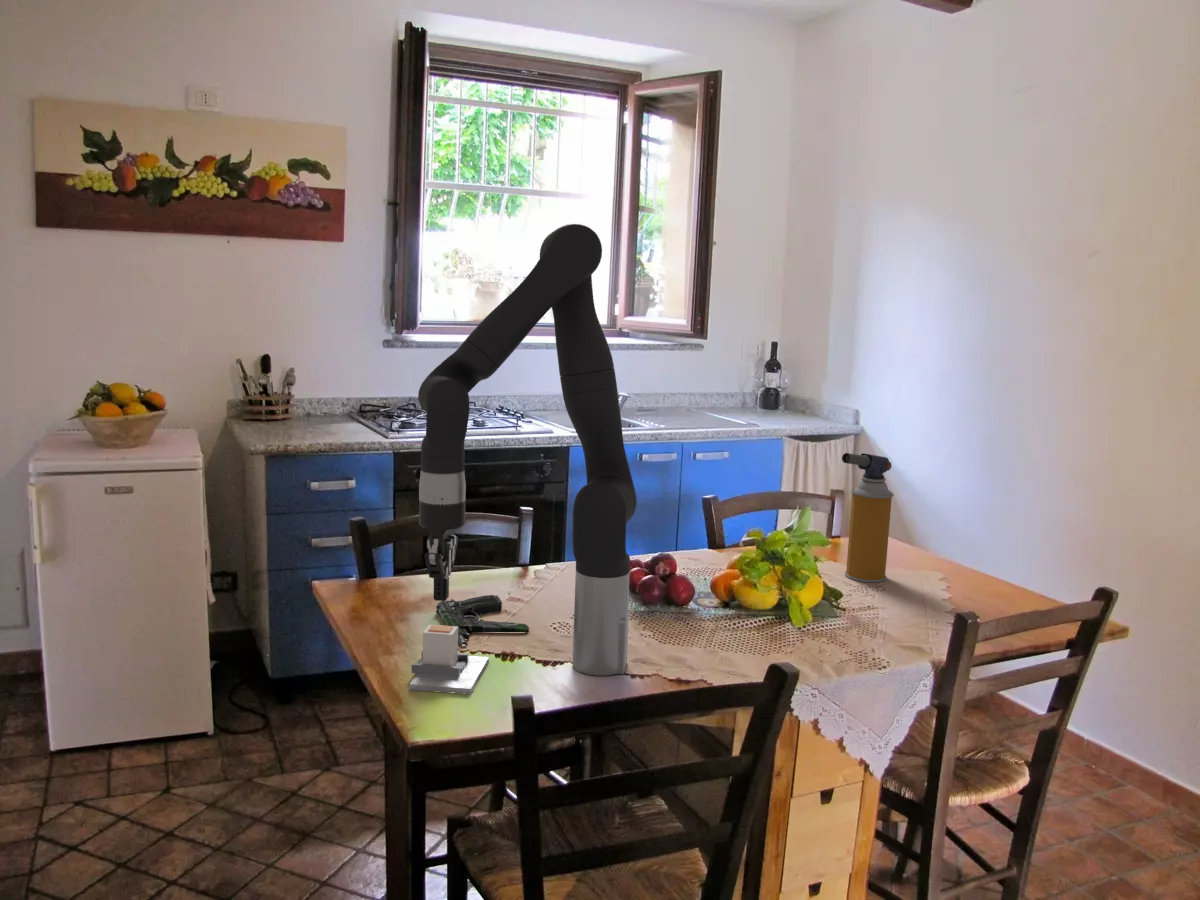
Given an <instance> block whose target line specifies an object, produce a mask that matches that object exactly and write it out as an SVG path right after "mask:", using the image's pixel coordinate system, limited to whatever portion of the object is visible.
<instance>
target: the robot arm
mask: <svg viewBox="0 0 1200 900" xmlns="http://www.w3.org/2000/svg"><path fill="white" fill-rule="evenodd" d="M601 242H602V241H601V239H600V237H599V236H598V234H597V232H595V231H594V230H593V229H592V228H591V227H588V226H587V225H586V224H585V225H584V224H582V223H570V224H569V223H568V224H564V225H562V226H560V227H557V229H555V230H553V231H551V232H550V233H549V234H548V235H546V237H545V238H544V239H543V241H542V243H541V246H540V249H539V259H538V261H537V262H536V264H535V265H534V266H533V268H532V269H531V271H529V273H528V274H527V276H525V278H524V279H523V281H522V282H521V283H520V284H519V285H518V286H517V287H516V288H515V289H514V290H513V291H511V293H510V294H508V296H506V298H504V299H503V301H501V302H500V303H499V304H498V305H497V306H495V308H494V309H493V310H492V311H490V312H489V314H487V316H485V318H484V319H483V320H482V321H481V322H480V323H479V324H478V325H477V326H476V327H475V328H474V329H473V331H472V332H470V334H469V335H468V336H467V337H466V338H465V340H464V341H463V342H462V343H461V344H460V346H459V347H458V348H457V349H456V350H455V351H454V352H453V353H452V354H451V355H449V356H448V357H447V358H446V359H445V360H443V361H442V362H441V363H440V364H439V365H437V366H436V367H435V368H434V369H433V370H432V371H431V372H430V373H429V374H428V375H427V376H426V377H425V379H424V380H423V381H422V383H421V385H420V387H419V389H418V393H417V394H418V403H419V405H420V406H421V409H422V410H423V411H424V412H425V413H426V421H425V423H426V424H425V436H424V437H423V439H422V441H421V447H420V475H419V476H420V477H419V481H418V525H420V527H422V528H423V529H427V530H429V531H430V534H429V537H428V538H427V541H426V548H427V549H428V552H425V553H424V555H423V557H424V562H425V566H426V569H427V573H428V577H429V578H430V579H433V600H434V601H437V602H440V601H447V599H448V598H450V597H449V596H450V593H449V592H450V577H451V574H452V570H453V569H454V566H455V560H456V552H457V548H458V542H459V538H458V536H456V535H455V530H457V529H460V528H463V527H464V526H465V524H466V493H467V492H466V491H467V485H466V484H467V483H466V474H465V459H466V458H465V457H466V455H465V454H466V453H465V451H466V450H465V441H466V436H467V430H468V424H469V417H470V395H469V393H470V392H471V391H472V390H473V389H474V388H475V387H476V385H478V383H480V382H482V381H485V380H487V379H489V378H490V377H492V376H493V374H495V373H496V371H498V369H499V368H500V367H501V366H502V365H503V364H504V363H505V361H506V360H507V359H508V358H509V357H510V356H511V355H512V354H513V353H514V351H515V350H516V349H518V347H519V346H520V344H522V342H523V341H524V339H525V338H526V337H527V336H528V335H529V333H530V332H531V331H532V330H533V329H534V327H535V326H536V325H537V324H538V323H539V321H540V320H542V318H543V317H544V316H545V315H546V314H547V313H548V311H549V310H550V309H552V315H553V322H554V335H555V336H554V337H555V346H556V347H555V348H556V354H557V363H558V371H559V378H560V385H561V386H560V387H561V392H562V393H561V394H562V398H563V401H564V406H565V409H566V412H567V415H568V417H569V419H570V421H571V424H572V427H573V428H574V430H575V432H576V434H577V436H578V439H579V441H580V444H581V447H582V450H583V456H584V465H585V472H586V473H585V474H586V484H585V485H584V486H583V487H581V488H580V489H579V490H578V492H577V493H576V496H575V499H574V502H573V509H572V552H573V553H572V554H573V556H574V561H575V578H574V579H575V583H574V585H575V586H574V606H573V607H574V608H573V609H574V611H573V634H572V635H573V636H572V637H573V640H572V641H573V642H572V644H573V645H572V667H573V668H574V669H575V670H576V671H577V672H579V673H582V674H585V675H589V676H591V675H592V676H600V677H601V676H612V675H619V674H620V675H623V674H624V675H625V671H626V668H627V662H628V645H629V644H628V641H629V618H630V611H629V594H630V593H629V592H630V570H631V569H630V568H631V558H630V555H629V554H628V553H627V548H626V545H627V541H626V540H627V523H628V522H629V521H630V520H631V519H632V518H633V516H634V514H635V512H636V509H637V501H638V499H637V492H636V489H635V485H634V481H633V477H632V474H631V470H630V467H629V462H628V457H627V453H626V450H625V449H626V448H625V443H624V436H623V425H622V417H621V410H620V409H621V408H620V403H619V395H618V394H619V392H618V386H617V385H618V384H617V383H618V382H617V378H616V370H615V364H614V361H613V360H614V359H613V355H612V352H611V349H610V345H609V343H608V340H607V338H606V335H605V333H604V330H603V327H602V326H601V323H600V321H599V318H598V314H597V312H596V307H595V300H594V292H593V291H594V290H593V279H592V278H593V277H592V275H593V274H594V273H595V272H596V270H597V269H598V267H599V266H600V264H601V260H602V255H603V245H602V243H601Z"/></svg>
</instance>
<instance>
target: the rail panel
mask: <svg viewBox="0 0 1200 900" xmlns="http://www.w3.org/2000/svg"><path fill="white" fill-rule="evenodd" d="M489 663H490V656H477V655H469V653H468V652H467V653H465V652H458V661H457V662H456V664H455V665H454V666H445V665H432V664H423V650H422V651H421V658H419V659H418V661H417V662H413V663H412V664H411V673H412V674H416V675H415V676H414V678H413V679H412V680H411V682H410V683H409V691H417V692H428V691H437V692H436V693H441V692H455V693H462V694H461V695H467V694H473V691H474V690H475V688H474V687H476V686H477V685H478V683H479V681H480V680H481V677H482V676H481V675H483V674H482V673H484V672H485V670H486V669H487V667H488V665H489ZM485 668H486V669H485ZM478 680H479V681H478ZM477 682H478V683H477ZM473 689H474V690H473ZM438 691H439V692H438ZM463 693H465V694H463Z"/></svg>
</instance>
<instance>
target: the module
mask: <svg viewBox="0 0 1200 900" xmlns="http://www.w3.org/2000/svg"><path fill="white" fill-rule="evenodd" d="M422 651H423V664H432V665H445V666H454V665H455V664H456V662H457V661H458V653H459V643H458V627H457V626H446V625H440V624H428V625H427V627H426V628H425V629H424V630H423V632H422Z"/></svg>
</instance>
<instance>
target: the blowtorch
mask: <svg viewBox="0 0 1200 900" xmlns="http://www.w3.org/2000/svg"><path fill="white" fill-rule="evenodd" d="M841 461H842V463H844V464H849V465H855V466H858V467H857V468H859V470H863V471H864V473H863V474H862V476H861V478H860V479H861V480H860V481H859V482H858V484H857V487H853V488H852V489H850V492H851V494H852V496H851V508H850V520H849V533H848V543H847V556H846V558H847V559H846V570H845V571H844V576H845V577H846V578H848V579H850V580H853V581H857V582H861V583H882V582H884V581H886V580H887V575H886V569H887V568H886V567H887V558H888V557H887V556H888V544H889V535H890V524H891V523H890V521H891V510H892V509H891V508H892V500H893V497H894V496H895V493H894V492H893V491H891V490H889V487H888V485H887V483H886V479H887V478H886V477H885V475H884V474H885V473H886V472H888V471H890V470H891V469H892V463H891V461H890V460H889V458H888V457H886V456H881V455H875V454H869V453H861V454H855V453H850V452H844V453H843V454H842V457H841Z"/></svg>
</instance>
